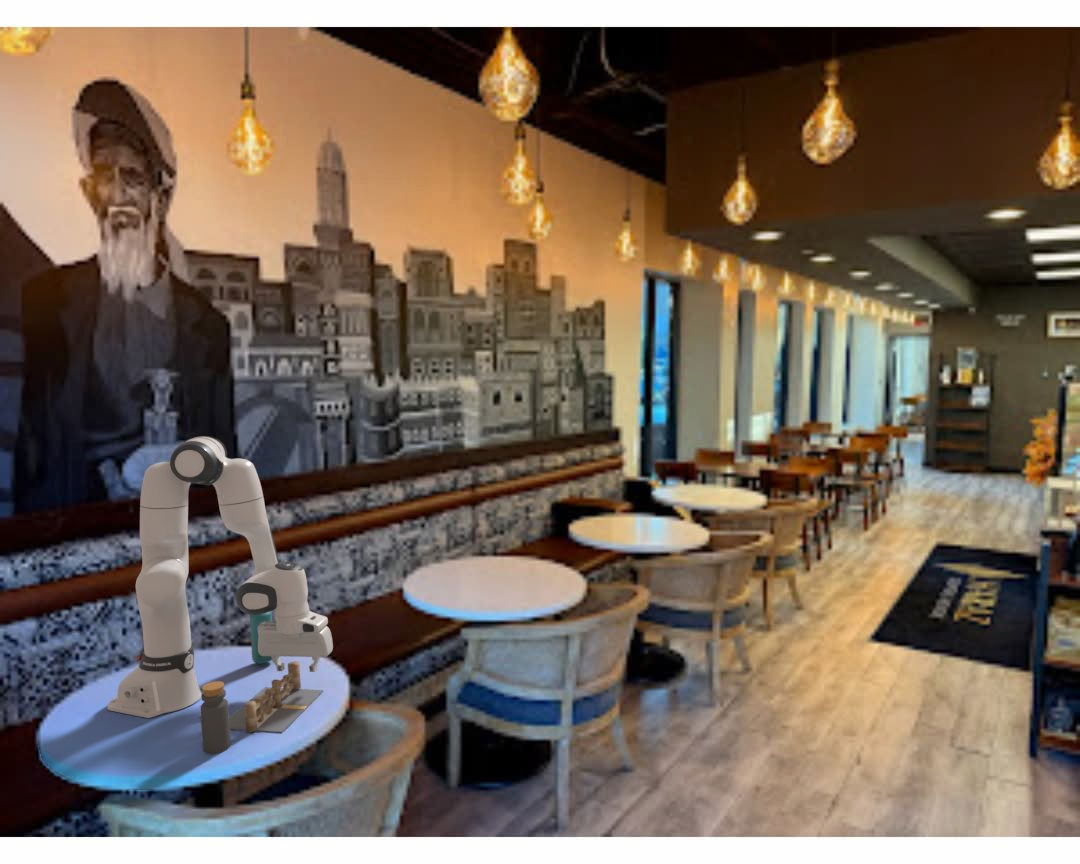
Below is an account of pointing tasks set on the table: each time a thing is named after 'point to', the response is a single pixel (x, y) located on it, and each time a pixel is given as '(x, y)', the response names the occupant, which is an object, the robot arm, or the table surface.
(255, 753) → the table surface
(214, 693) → the bottle
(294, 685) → the fence gate
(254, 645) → the beverage bottle
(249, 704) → the fence fixed
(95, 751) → the table surface
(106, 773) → the table surface
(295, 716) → the card
